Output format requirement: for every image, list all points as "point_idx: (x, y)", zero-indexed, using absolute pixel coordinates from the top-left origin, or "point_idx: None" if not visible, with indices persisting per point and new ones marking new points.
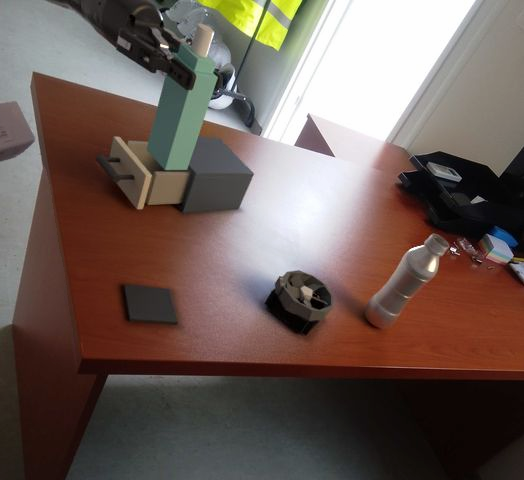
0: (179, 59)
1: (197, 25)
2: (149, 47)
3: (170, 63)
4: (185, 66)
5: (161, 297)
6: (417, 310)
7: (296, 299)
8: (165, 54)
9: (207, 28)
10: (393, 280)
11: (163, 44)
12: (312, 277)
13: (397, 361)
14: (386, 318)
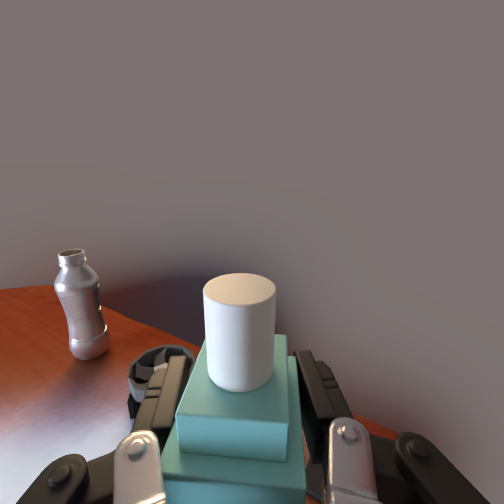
0: (300, 427)
1: (269, 302)
2: (451, 479)
3: (352, 418)
4: (310, 377)
5: (319, 475)
6: (25, 339)
7: (193, 363)
8: (369, 439)
9: (236, 284)
10: (89, 310)
11: (362, 496)
12: (129, 377)
13: (138, 325)
14: (108, 330)
